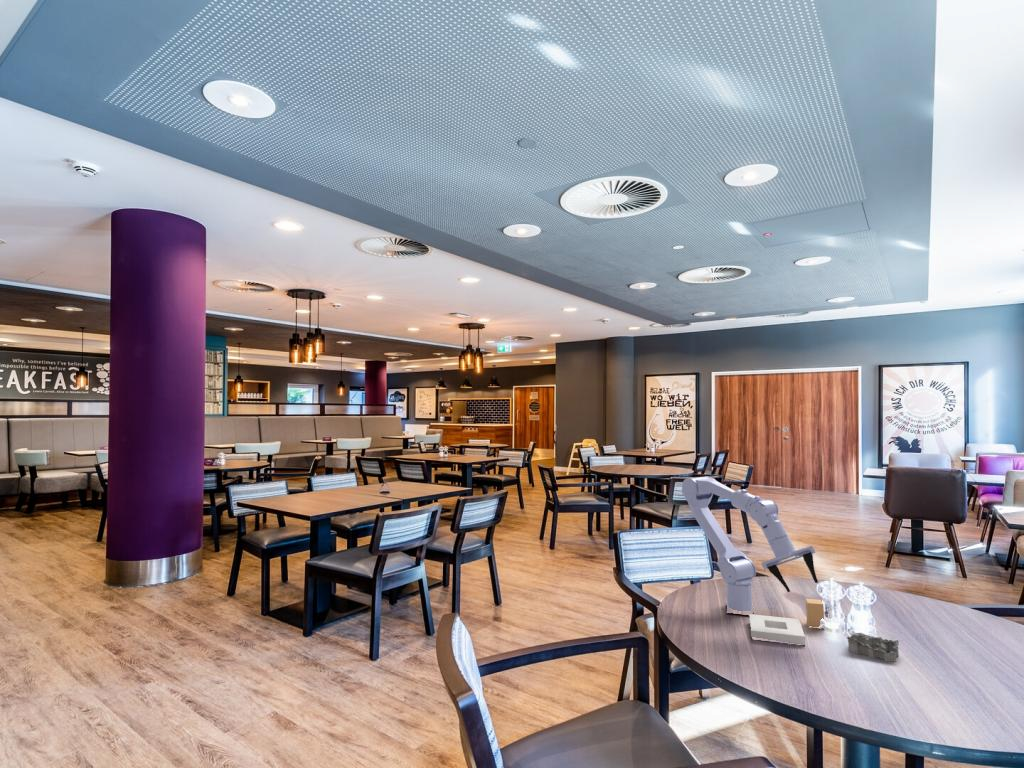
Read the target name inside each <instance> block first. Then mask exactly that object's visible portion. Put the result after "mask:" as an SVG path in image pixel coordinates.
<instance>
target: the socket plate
mask: <svg viewBox="0 0 1024 768" xmlns="http://www.w3.org/2000/svg"><path fill="white" fill-rule="evenodd" d="M748 617H749V626H750V627H751V629H750V637H756V638H763V639H768V640H776V641H782V642H788V643H794V644H801V645H805V646H806V636H805V632H804V630H803V626H802V624H801V621H800V619H799V618H792V617H783V616H781V617H780V616H770V615H761V614H755V613H754V614H749V616H748ZM765 626H767V627H765ZM750 627H749V628H750ZM769 627H774V628H769ZM778 628H781V629H778Z"/></svg>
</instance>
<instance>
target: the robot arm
mask: <svg viewBox="0 0 1024 768" xmlns="http://www.w3.org/2000/svg"><path fill="white" fill-rule="evenodd" d="M681 493H682V495H683V496H684V498H685V500H686V501H687V503H688V507H689V510H690V512H691V514H692V515H693V517H694V519H695V521H696V522H697V524H698V525H699V527H700V528H701V530H702V531H703V532H704V535H705V536H706V538H707V539H708V540H709V543H710V544H711V545H712V547H713V549H714V550H715V552H716V553H717V555H718V560H717V563H716V565H717V567H718V569H719V571H720V572H719V573H720V575H721V577H722V578H723V580H724V582H725V584H726V603H727V606H728V607H729V608H731V609H733V610H737V611H751V610H752V605H753V597H752V596H753V594H752V582H753V579H754V578H755V577H756V574H757V567H756V564H755V563H754V562H753V561H752V560H751V559H750V558H748V556H746V554H745V553H744V552H742V551H740V550H739V549H736V547H735V546H734V544H733V543H732V542H731V540H730V539H729V538H728V536H727V534H726V532H725V531H724V529H723V527H722V526H721V525H720V523H719V522H718V520H717V519H716V517H715V516H714V514H713V513H712V511H711V510H710V508H709V504H710V503H711V501H712V498H713V495H715V496H718V497H720V498H723V499H726V500H728V501H730V502H731V505H732V506H733V507H734V508H736V509H739V510H740V511H743V512H744V513H746V514H748V515H749V517H750V518H751V519H752V520H753V521H755V522H756V523H757V526H758V527H759V528H760V529H761V530H762V532H763V534H764V536H765V538H766V540H767V543H768V545H769V546H770V549H771V550H772V553H773V554H774V558H771V559H769V560H765V561H763V562H761V566H762V567H763V569H764V570H763V571H767V570H768V571H769V572H770V574H772V575H773V576H774V577H775V578H776V579H777V580H778V581H779V582H780V583H781V585H782V586H783V587H784V588H785V590H786V591H787V593H790V592H791V589H790V588H789V586H788V584H787V583H786V581H785V579H784V578H783V576H782V573H781V572H780V571H781V570H779V567H778V566H781V565H783V564H786V563H789V562H791V561H795V560H797V559H800V558H803V559H802V560H803V561H804V563H805V565H806V566H807V568H808V571H809V572H810V574H811V577H812V579H813V581H814V583H815V584H818V583H819V580H818V578H817V574H816V571H815V566H814V565H815V564H814V556H813V554H815V553H816V550H815V548H814V547H813V545H810V546H806V547H803V548H800V549H797V550H796V548H795V546H794V544H793V541H792V540H791V538H790V537H789V535H788V533H787V531H786V529H785V526H784V525H783V524H782V521H781V520H780V518H779V516H778V514H779V507H778V505H777V503H776V502H775V501H774V500H772V499H770V498H765V499H762V498H761V496H759V495H753V494H752V493H749V492H748V489H744V488H743V489H737V490H735V489H733V488H730V487H729V486H726V485H724V484H723V483H721V482H719V481H717V480H716V479H715V478H712V477H710V476H707V475H706V476H699V477H687V478H684V480H683V481H682V485H681Z"/></svg>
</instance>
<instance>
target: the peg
mask: <svg viewBox="0 0 1024 768" xmlns="http://www.w3.org/2000/svg"><path fill="white" fill-rule="evenodd" d="M824 607H825V606H824V602H823V600H822V599H814V598H805V610H806V615H805V616H806V624H807V623H808V624H807V627H808V626H812V627H819V626H820V620H821V619H822V618H823V619H824V620H825V611H824Z"/></svg>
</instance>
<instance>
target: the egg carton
mask: <svg viewBox="0 0 1024 768" xmlns="http://www.w3.org/2000/svg"><path fill="white" fill-rule="evenodd" d="M846 639H847V643H848V651H849V650H850V652H852V653H853V654H856V655H859V654H861V655H866V656H867V657H869V658H872V657H874V658H878V657H881V658H880V659H882V658H883V659H882V660H884V661H885V660H887V661H886V662H889V661H890V662H892V661H891V660H895V661H894V662H897V661H896V660H897V657H896V656H898V657H899V656H900V655H899V654H900V653H899V645H900V644H899V643H900V642H899V640H893V639H888V638H885V639H883V638H882V637H880V636H879V637H876V636H870V635H868V634H865V633H863V632H856V633H853V634H851V636H847V637H846ZM887 651H890V652H887Z"/></svg>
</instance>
